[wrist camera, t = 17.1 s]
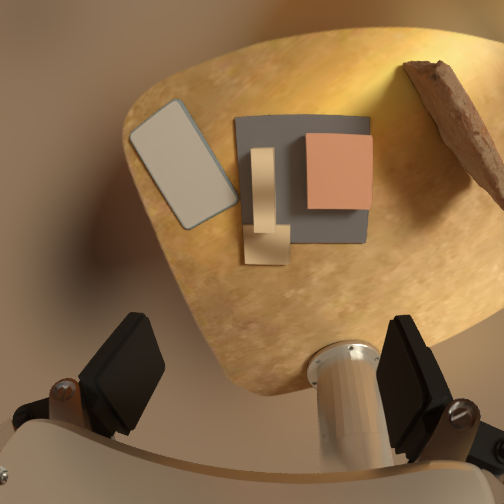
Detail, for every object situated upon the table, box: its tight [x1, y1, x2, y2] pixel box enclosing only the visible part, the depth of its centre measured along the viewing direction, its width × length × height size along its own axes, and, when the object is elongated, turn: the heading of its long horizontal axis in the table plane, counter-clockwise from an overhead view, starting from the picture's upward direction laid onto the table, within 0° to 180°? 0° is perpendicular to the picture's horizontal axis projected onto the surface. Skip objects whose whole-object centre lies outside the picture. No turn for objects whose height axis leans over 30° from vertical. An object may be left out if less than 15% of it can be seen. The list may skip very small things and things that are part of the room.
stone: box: [403, 60, 504, 210], centre depth 20 cm, size 19×10×4 cm
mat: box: [235, 114, 370, 243], centre depth 30 cm, size 15×15×1 cm
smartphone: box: [130, 99, 239, 230], centre depth 31 cm, size 8×1×15 cm
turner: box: [243, 147, 290, 265], centre depth 30 cm, size 14×6×3 cm, turn 2°
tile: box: [305, 133, 373, 210], centre depth 28 cm, size 2×7×8 cm
